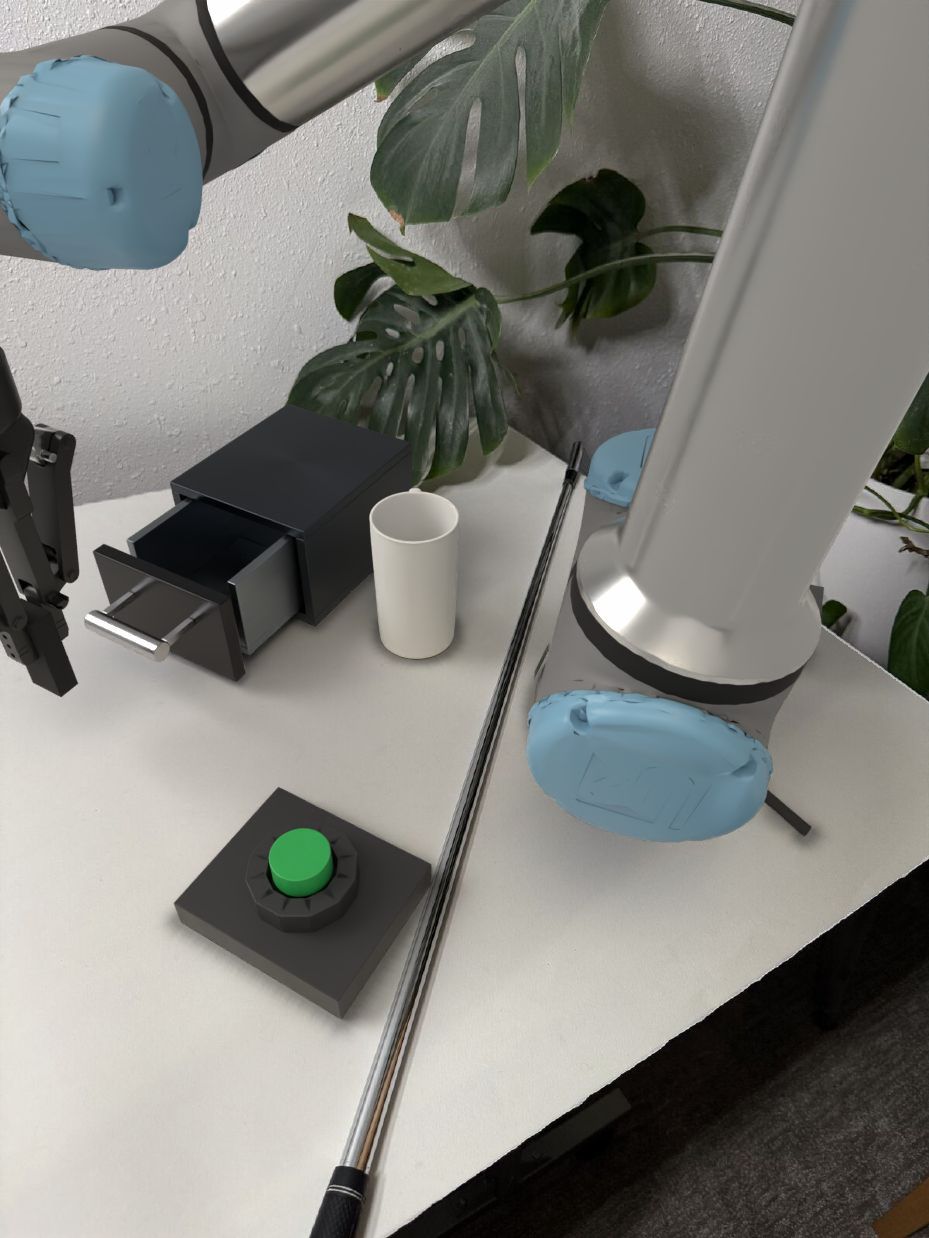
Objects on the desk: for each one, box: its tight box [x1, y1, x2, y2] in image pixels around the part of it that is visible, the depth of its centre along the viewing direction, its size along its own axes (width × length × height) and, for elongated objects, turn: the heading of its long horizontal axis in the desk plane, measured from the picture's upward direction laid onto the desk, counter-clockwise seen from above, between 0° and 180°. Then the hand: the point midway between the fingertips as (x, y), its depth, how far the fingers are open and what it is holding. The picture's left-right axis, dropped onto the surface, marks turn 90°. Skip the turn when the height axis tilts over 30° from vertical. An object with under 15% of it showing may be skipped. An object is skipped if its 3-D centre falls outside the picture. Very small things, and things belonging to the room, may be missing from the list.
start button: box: [269, 828, 333, 897], centre depth 52 cm, size 4×4×2 cm
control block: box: [173, 786, 433, 1020], centre depth 54 cm, size 12×10×4 cm
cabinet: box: [169, 403, 414, 627], centre depth 79 cm, size 16×14×10 cm
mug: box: [370, 487, 460, 660], centre depth 71 cm, size 10×7×12 cm, turn 2°
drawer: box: [83, 497, 305, 683], centre depth 71 cm, size 19×13×8 cm, turn 151°
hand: (55, 682), depth 60 cm, fingers closed
